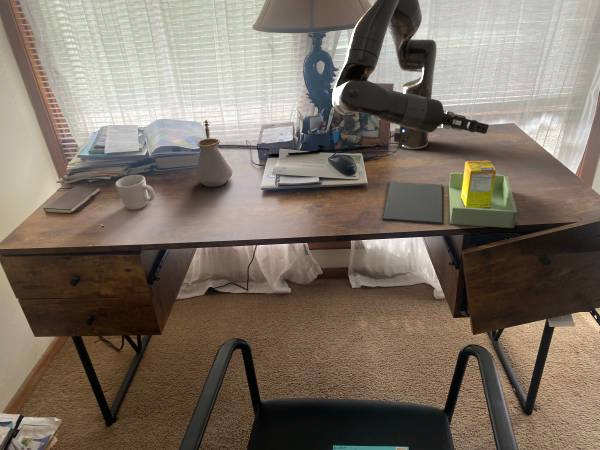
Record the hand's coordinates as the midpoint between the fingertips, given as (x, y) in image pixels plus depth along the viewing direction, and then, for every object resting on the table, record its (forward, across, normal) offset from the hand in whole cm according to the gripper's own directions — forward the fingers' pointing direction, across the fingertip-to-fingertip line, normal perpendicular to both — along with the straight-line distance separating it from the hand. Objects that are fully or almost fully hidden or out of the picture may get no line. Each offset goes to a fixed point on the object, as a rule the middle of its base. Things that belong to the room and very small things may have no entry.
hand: (476, 126), depth 106 cm
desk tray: (+7, -2, +19) cm, 20 cm away
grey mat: (-7, +5, +22) cm, 24 cm away
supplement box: (+6, -2, +19) cm, 20 cm away
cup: (-76, +29, +42) cm, 92 cm away
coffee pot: (-56, +42, +33) cm, 78 cm away
